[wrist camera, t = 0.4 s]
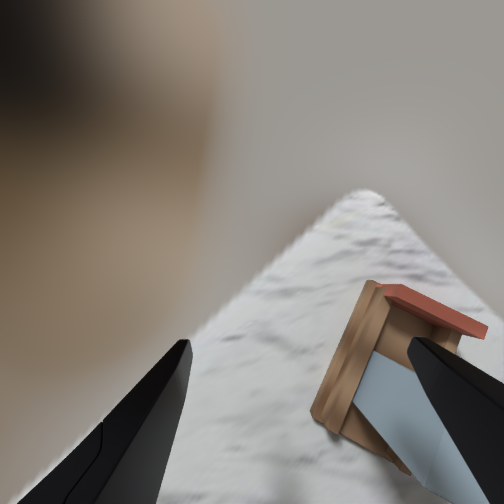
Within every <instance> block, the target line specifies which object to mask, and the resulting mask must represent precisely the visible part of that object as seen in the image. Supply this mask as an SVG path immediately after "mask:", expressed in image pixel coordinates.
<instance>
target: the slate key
mask: <svg viewBox="0 0 504 504" xmlns="http://www.w3.org/2000/svg"><path fill="white" fill-rule="evenodd" d="M352 401H353V403H354V404H355V405H356V406H357V407H358V409H359V410H360V411H361V412H362V413H363V415H364V416H365V417H366V418H367V419H368V421H369V422H370V423H371V424H372V425H373V427H374V428H375V429H376V430H377V431H378V433H379V434H380V435H381V436H382V437H383V439H384V440H385V441H386V442H387V443H388V445H389V446H390V447H391V448H392V449H393V451H394V452H395V453H396V454H397V455H398V457H399V458H400V459H401V460H402V461H403V463H404V464H405V465H406V466H407V467H408V469H409V470H410V471H411V472H412V473H413V475H414V476H415V477H416V478H417V479H418V481H419V482H420V483H421V484H422V486H423V487H424V488H426V489H428V490H430V491H432V492H433V493H435V494H437V495H439V496H440V497H442V498H444V499H446V500H447V501H449V502H451V503H453V504H489V502H488V500H487V498H486V497H485V495H484V493H483V492H482V490H481V488H480V486H479V485H478V483H477V481H476V480H475V478H474V476H473V475H472V473H471V471H470V469H469V468H468V466H467V464H466V463H465V461H464V459H463V457H462V456H461V454H460V452H459V451H458V449H457V447H456V446H455V444H454V442H453V440H452V439H451V437H450V435H449V434H448V432H447V430H446V429H445V427H444V425H443V423H442V422H441V420H440V418H439V417H438V415H437V413H436V411H435V410H434V408H433V406H432V405H431V403H430V401H429V399H428V398H427V396H426V394H425V392H424V390H423V388H422V386H421V383H420V381H419V379H418V377H417V375H416V373H415V372H414V371H412V370H410V369H408V368H406V367H405V366H403V365H401V364H399V363H397V362H395V361H393V360H391V359H389V358H387V357H385V356H383V355H381V354H380V353H378V352H376V351H374V350H372V353H371V355H370V358H369V360H368V362H367V365H366V367H365V370H364V372H363V374H362V377H361V379H360V382H359V384H358V387H357V389H356V391H355V394H354V396H353V399H352Z"/></svg>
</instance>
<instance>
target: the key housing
mask: <svg viewBox="0 0 504 504" xmlns="http://www.w3.org/2000/svg"><path fill="white" fill-rule="evenodd" d="M487 330H488V326H486V325H484V324H482V323H480V322H478V321H476V320H474V319H472V318H470V317H468V316H466V315H464V314H462V313H460V312H458V311H456V310H453V309H451V308H449V307H447V306H445V305H443V304H441V303H439V302H437V301H435V300H433V299H431V298H429V297H427V296H425V295H423V294H421V293H419V292H417V291H415V290H412V289H410V288H408V287H406V286H404V285H402V284H379V283H377V282H375V281H373V280H367V281H366V283H365V285H364V288H363V290H362V292H361V295H360V297H359V299H358V301H357V304H356V306H355V308H354V311H353V313H352V315H351V317H350V320H349V322H348V324H347V327H346V329H345V331H344V334H343V336H342V338H341V340H340V343H339V345H338V347H337V350H336V352H335V354H334V356H333V359H332V361H331V363H330V366H329V368H328V370H327V372H326V375H325V377H324V379H323V382H322V384H321V386H320V389H319V391H318V393H317V395H316V398H315V400H314V402H313V405H312V407H311V409H310V413H311V415H312V417H313V418H314V419H316V420H318V421H319V422H321V423H323V424H325V426H326V428H327V429H328V430H329V431H331V432H333V433H335V434H337V435H338V432H339V433H341V434H343V435H344V436H346V437H348V438H350V439H351V440H353V441H355V442H357V443H359V444H360V445H362V446H364V447H366V448H368V449H369V450H371V451H373V452H375V453H376V454H378V455H380V456H382V457H384V458H385V459H387V460H389V461H391V462H392V463H394V464H395V465H396V466H397V467H398V469H399V470H401V471H402V472H404V473H406V474H408V475H409V476H411V473H412V472H411V471H410V470H409V469H408V467H407V466H406V465H405V464H404V463H403V461H402V460H401V459H400V458H399V457H398V455H397V454H396V453H395V452H394V451H393V449H392V448H391V447H390V446H389V445H388V443H387V442H386V441H385V440H384V439H383V437H382V436H381V435H380V434H379V433H378V431H377V430H376V429H375V428H374V427H373V425H372V424H371V423H370V422H369V421H368V419H367V418H366V417H365V416H364V415H363V413H362V412H361V411H360V410H359V409H358V407H357V406H356V405H355V404H354V403H353V401H352V399H353V396H354V394H355V391H356V389H357V387H358V384H359V382H360V379H361V377H362V374H363V372H364V370H365V367H366V365H367V362H368V360H369V358H370V355H371V353H372V350H374V351H376V352H378V353H380V354H381V355H383V356H385V357H387V358H389V359H391V360H393V361H395V362H397V363H399V364H401V365H403V366H405V367H406V368H408V369H410V370H412V371H414V369H413V367H412V365H411V362H410V360H409V358H408V356H407V349H408V346H409V344H410V341H411V339H412V337H414V336H425V337H427V338H429V339H430V340H432V341H434V342H435V343H437V344H439V345H440V346H442V347H444V348H445V349H447V350H449V351H450V352H452V353H454V354H455V352H456V350H457V347H458V344H459V341H460V339H461V336H462V335H466V336H470V337H475V338H479V339H483V340H484V338H485V335H486V332H487ZM414 372H415V371H414Z"/></svg>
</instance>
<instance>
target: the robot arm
mask: <svg viewBox="0 0 504 504" xmlns="http://www.w3.org/2000/svg"><path fill="white" fill-rule="evenodd" d="M407 356H408V358H409V360H410V362H411V365H412V367H413V369H414V371H415V373H416V375H417V377H418V379H419V381H420V383H421V386H422V388H423V390H424V392H425V394H426V396H427V398H428V399H429V401H430V403H431V405H432V406H433V408H434V410H435V411H436V413H437V415H438V417H439V418H440V420H441V422H442V423H443V425H444V427H445V429H446V430H447V432H448V434H449V435H450V437H451V439H452V440H453V442H454V444H455V446H456V447H457V449H458V451H459V452H460V454H461V456H462V457H463V459H464V461H465V463H466V464H467V466H468V468H469V469H470V471H471V473H472V475H473V476H474V478H475V480H476V481H477V483H478V485H479V486H480V488H481V490H482V492H483V493H484V495H485V497H486V498H487V500H488V502H489V504H504V384H503V383H502V382H500V381H498V380H497V379H495V378H493V377H492V376H490V375H488V374H487V373H485V372H483V371H482V370H480V369H479V368H477V367H475V366H474V365H472V364H470V363H469V362H467V361H465V360H464V359H462V358H460V357H459V356H457V355H455V354H454V353H452V352H450V351H449V350H447V349H445V348H444V347H442V346H440V345H439V344H437V343H435V342H434V341H432V340H430V339H429V338H427V337H425V336H414V337H412V339H411V341H410V344H409V346H408V349H407ZM192 358H193V353H192V348H191V343H190V340H188V339H180V340H178V341H177V342H176V344H174V346H173V347H172V348H171V349H170V350H169V351H168V352H167V353H166V354H165V355H164V356H163V357H162V358H161V359H160V360H159V361H158V362H157V363H156V364H155V365H154V367H153V368H152V369H151V370H150V371H149V372H148V373H147V374H146V375H145V376H144V377H143V378H142V379H141V380H140V381H139V382H138V383H137V384H136V386H135V387H134V388H133V389H132V390H131V391H130V392H129V393H128V394H127V395H126V396H125V397H124V398H123V399H122V400H121V401H120V402H119V403H118V404H117V406H116V407H115V408H114V409H113V410H112V411H111V412H110V413H109V414H108V415H107V416H106V417H105V418H104V419H103V422H100V423H99V424H98V425H97V427H96V428H95V429H94V430H93V431H92V432H91V433H90V434H89V435H88V436H87V437H86V438H85V439H84V440H83V441H82V442H81V443H80V444H79V445H78V446H77V447H76V448H75V449H74V450H73V451H72V452H71V453H70V454H69V455H68V456H67V457H66V458H65V459H64V460H63V461H62V462H61V463H60V464H59V465H58V466H57V467H55V468H54V469H53V470H52V471H51V472H50V473H49V474H48V475H47V476H46V477H45V478H44V479H43V480H42V481H41V482H39V483H38V484H37V485H36V486H35V487H34V488H33V489H32V490H31V491H30V492H29V493H28V494H27V495H25V496H24V497H23V498H22V499H21V500H20V501H19V502H18V503H17V504H156V501H157V497H158V494H159V490H160V487H161V483H162V480H163V476H164V473H165V469H166V466H167V462H168V459H169V455H170V452H171V448H172V445H173V441H174V438H175V434H176V430H177V427H178V423H179V420H180V416H181V413H182V409H183V406H184V402H185V398H186V393H187V387H188V381H189V376H190V370H191V364H192Z"/></svg>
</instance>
